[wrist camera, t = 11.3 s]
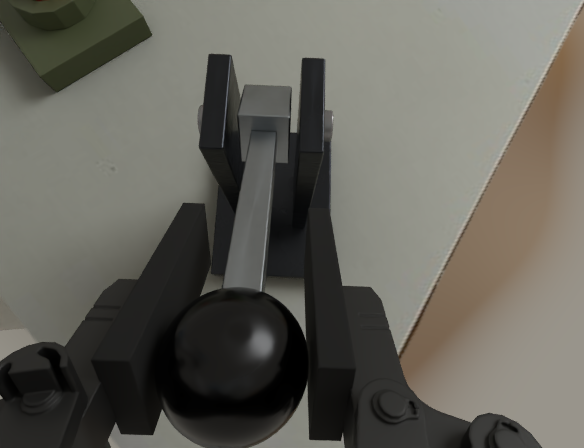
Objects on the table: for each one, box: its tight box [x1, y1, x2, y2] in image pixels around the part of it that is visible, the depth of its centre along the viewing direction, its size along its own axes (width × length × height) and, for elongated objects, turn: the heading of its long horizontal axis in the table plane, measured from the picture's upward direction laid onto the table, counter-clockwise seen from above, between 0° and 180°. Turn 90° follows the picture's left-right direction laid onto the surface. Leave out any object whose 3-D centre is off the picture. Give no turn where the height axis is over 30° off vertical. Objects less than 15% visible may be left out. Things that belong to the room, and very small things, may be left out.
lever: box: [155, 85, 309, 448], centre depth 12 cm, size 14×4×4 cm, turn 178°
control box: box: [0, 0, 152, 92], centre depth 30 cm, size 12×10×4 cm
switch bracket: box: [198, 54, 333, 279], centre depth 21 cm, size 12×9×15 cm
